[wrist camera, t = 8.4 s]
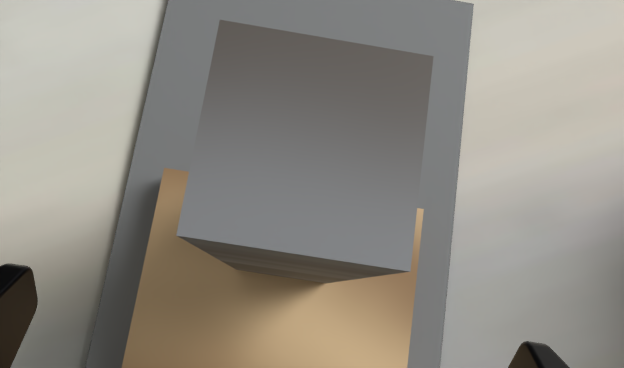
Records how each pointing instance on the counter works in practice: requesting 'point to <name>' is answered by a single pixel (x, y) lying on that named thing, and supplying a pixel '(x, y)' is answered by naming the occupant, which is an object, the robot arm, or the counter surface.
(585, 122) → the counter surface
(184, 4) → the lane mat
